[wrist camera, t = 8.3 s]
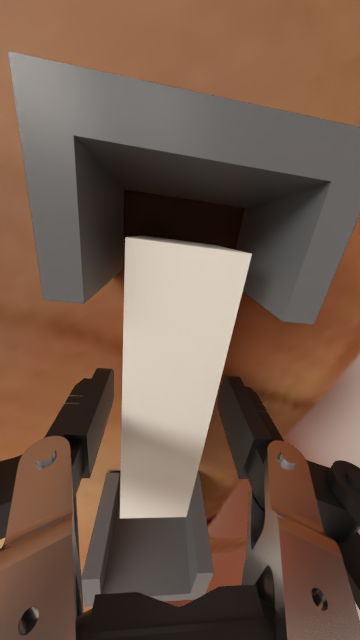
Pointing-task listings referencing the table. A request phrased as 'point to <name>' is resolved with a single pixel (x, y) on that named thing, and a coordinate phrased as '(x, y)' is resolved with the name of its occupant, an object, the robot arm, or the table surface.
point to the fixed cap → (181, 178)
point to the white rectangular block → (172, 365)
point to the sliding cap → (148, 551)
